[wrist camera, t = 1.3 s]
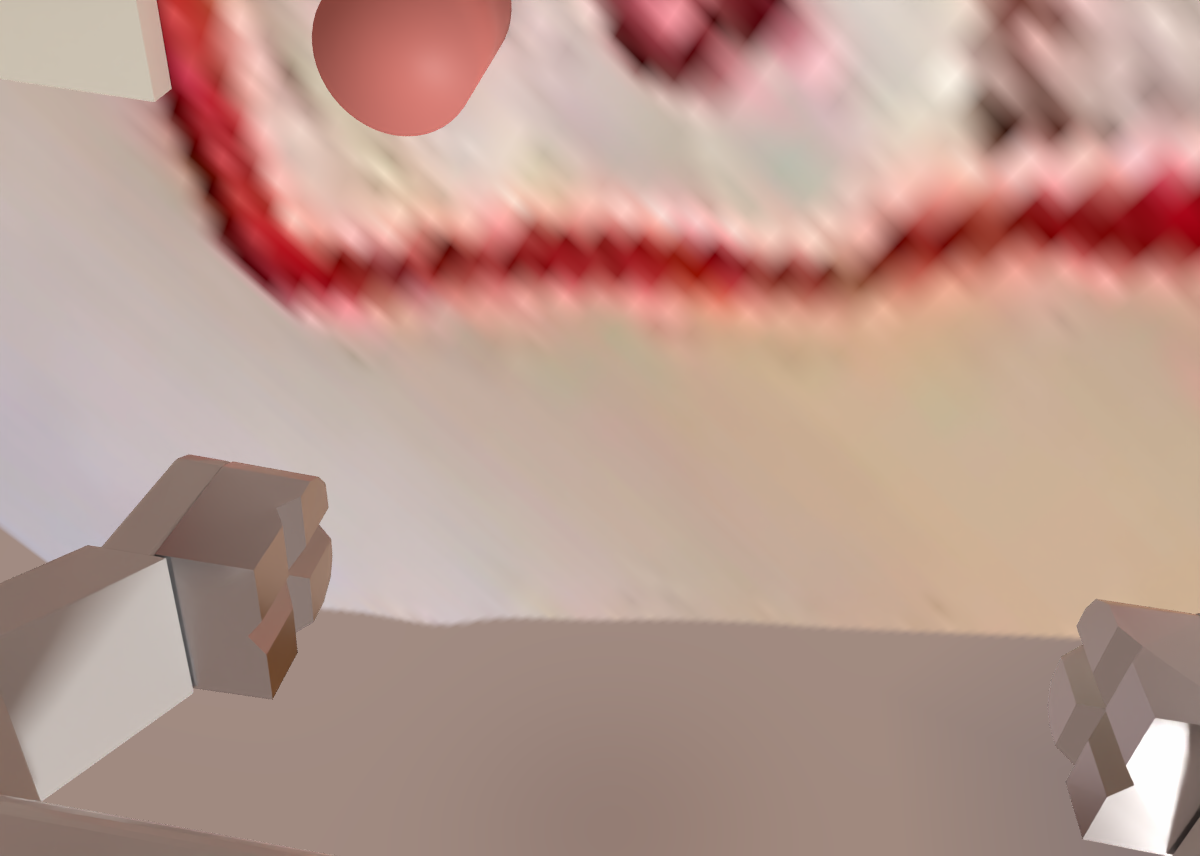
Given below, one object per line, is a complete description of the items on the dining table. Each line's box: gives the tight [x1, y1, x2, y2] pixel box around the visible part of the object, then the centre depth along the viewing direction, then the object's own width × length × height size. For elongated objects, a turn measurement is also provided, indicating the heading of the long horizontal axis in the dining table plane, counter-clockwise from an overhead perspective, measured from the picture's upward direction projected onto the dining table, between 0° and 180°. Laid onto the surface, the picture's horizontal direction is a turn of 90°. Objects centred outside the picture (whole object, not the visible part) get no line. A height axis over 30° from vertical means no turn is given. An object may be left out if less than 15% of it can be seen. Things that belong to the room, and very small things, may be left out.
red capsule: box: [312, 0, 511, 136], centre depth 29 cm, size 4×4×5 cm
